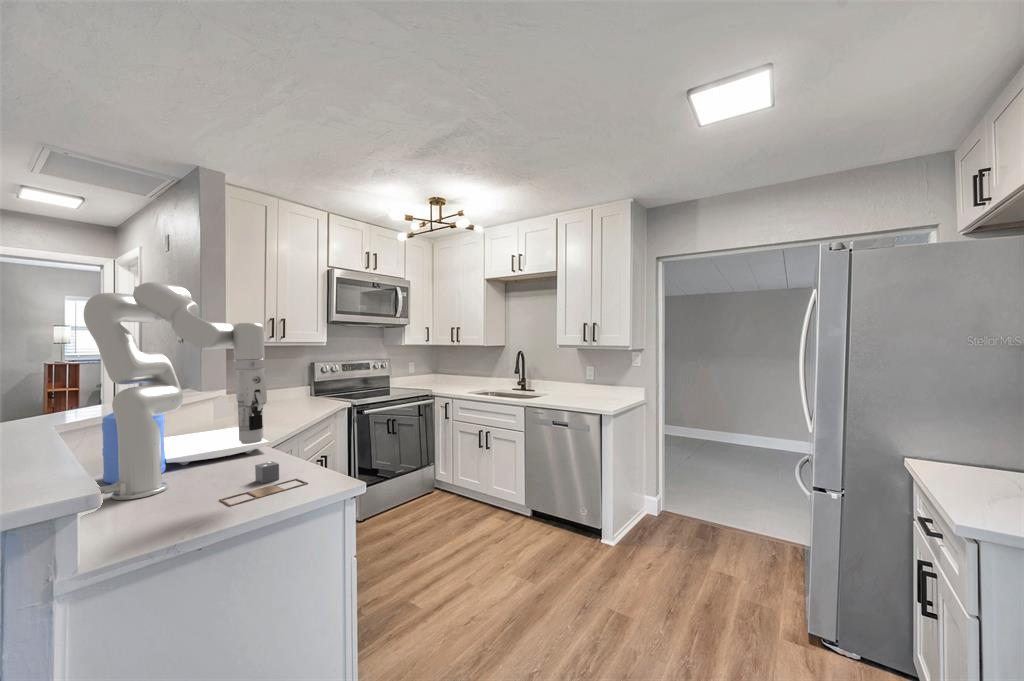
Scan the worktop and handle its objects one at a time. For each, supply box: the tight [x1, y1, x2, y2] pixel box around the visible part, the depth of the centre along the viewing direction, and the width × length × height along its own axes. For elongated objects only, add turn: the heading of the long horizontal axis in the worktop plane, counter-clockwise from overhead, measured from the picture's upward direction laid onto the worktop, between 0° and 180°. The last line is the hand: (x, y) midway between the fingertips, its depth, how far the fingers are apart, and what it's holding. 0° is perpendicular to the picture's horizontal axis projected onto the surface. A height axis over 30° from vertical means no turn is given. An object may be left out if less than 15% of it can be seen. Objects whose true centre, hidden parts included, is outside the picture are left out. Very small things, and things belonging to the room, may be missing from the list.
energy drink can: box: [237, 393, 265, 444], centre depth 121 cm, size 6×6×15 cm
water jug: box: [101, 411, 167, 484], centre depth 141 cm, size 16×16×28 cm
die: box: [254, 461, 280, 484], centre depth 135 cm, size 5×5×5 cm
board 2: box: [218, 478, 309, 507], centre depth 124 cm, size 21×7×1 cm, turn 143°
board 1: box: [164, 426, 270, 466], centre depth 173 cm, size 45×32×5 cm
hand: (251, 427), depth 121 cm, fingers closed on energy drink can, 6 cm apart
